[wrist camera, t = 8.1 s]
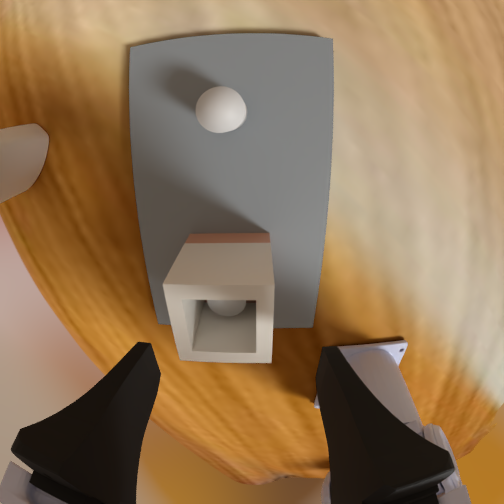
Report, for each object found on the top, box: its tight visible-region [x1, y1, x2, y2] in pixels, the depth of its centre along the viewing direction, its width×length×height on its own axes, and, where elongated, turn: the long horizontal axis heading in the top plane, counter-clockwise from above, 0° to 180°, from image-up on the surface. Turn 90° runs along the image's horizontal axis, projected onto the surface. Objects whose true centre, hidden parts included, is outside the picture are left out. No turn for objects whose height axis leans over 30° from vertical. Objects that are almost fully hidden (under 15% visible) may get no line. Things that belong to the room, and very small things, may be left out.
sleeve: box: [163, 233, 275, 363], centre depth 16 cm, size 5×5×6 cm
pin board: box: [129, 33, 334, 328], centre depth 16 cm, size 20×12×4 cm, turn 0°
